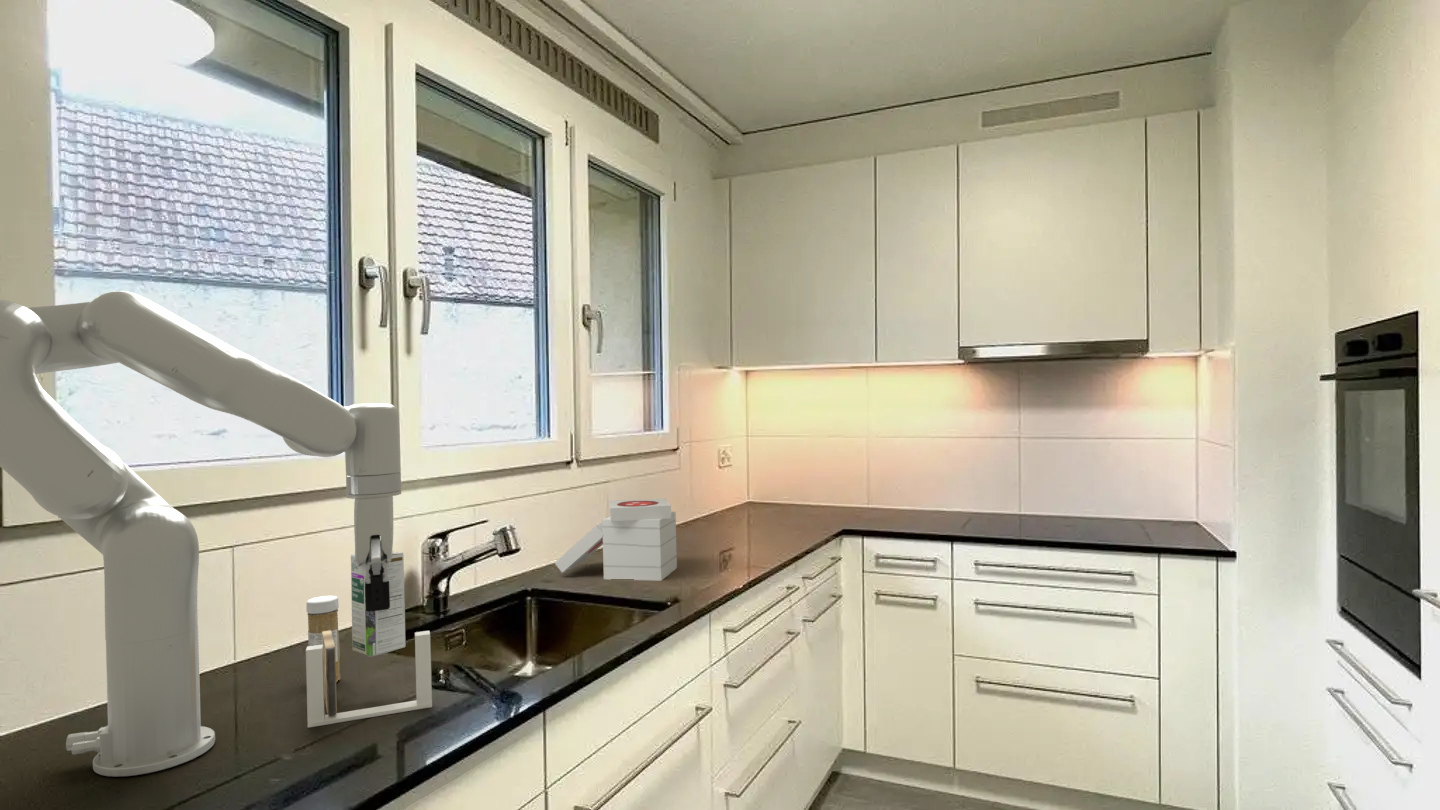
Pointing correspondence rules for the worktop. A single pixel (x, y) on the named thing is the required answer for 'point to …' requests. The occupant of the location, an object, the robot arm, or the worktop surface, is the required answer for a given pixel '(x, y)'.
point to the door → (329, 672)
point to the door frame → (423, 701)
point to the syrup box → (383, 626)
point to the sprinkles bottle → (323, 622)
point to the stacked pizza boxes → (631, 541)
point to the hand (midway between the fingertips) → (377, 602)
